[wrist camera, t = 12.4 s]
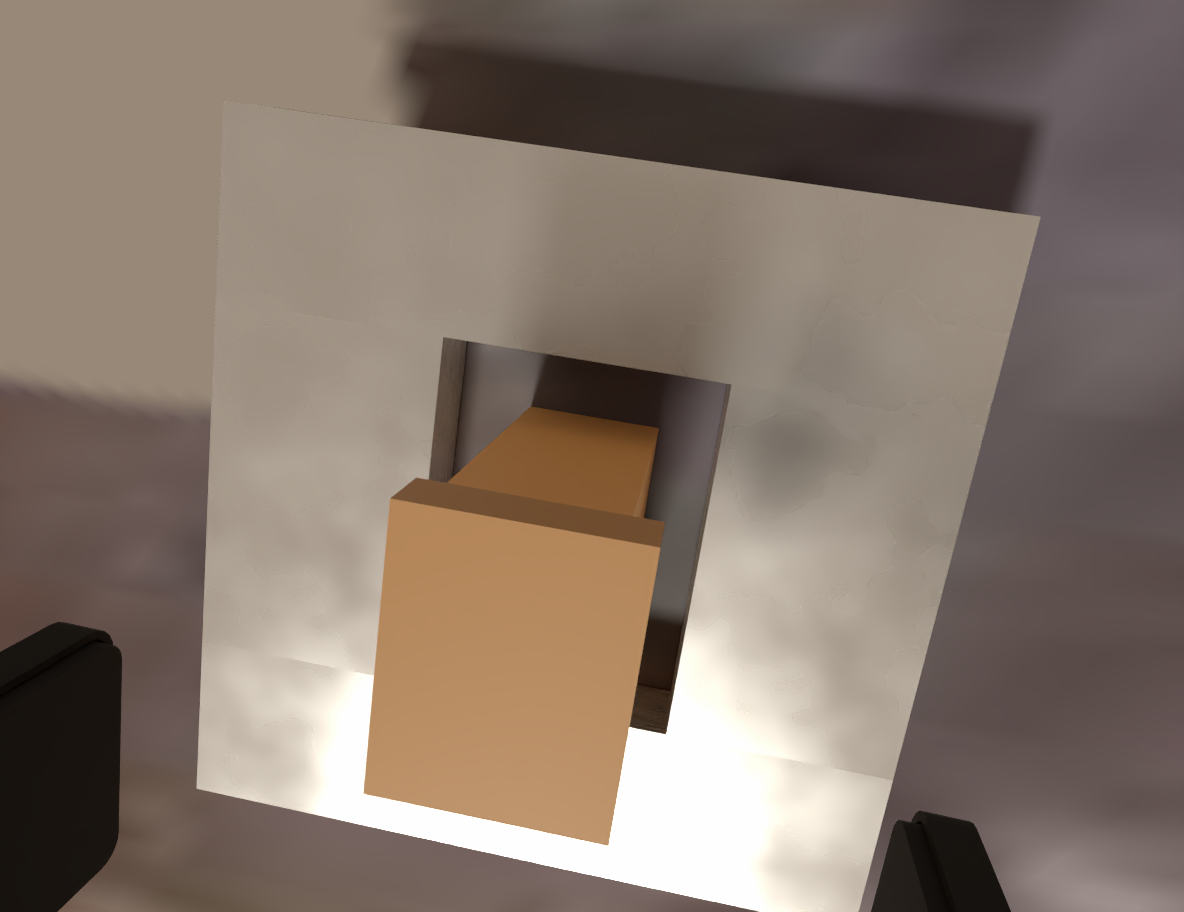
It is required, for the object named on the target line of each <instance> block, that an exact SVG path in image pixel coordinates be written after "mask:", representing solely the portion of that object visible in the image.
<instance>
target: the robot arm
mask: <svg viewBox="0 0 1184 912" xmlns="http://www.w3.org/2000/svg"><path fill="white" fill-rule="evenodd" d="M121 682H122V656H121V652H120V650H119V648H117V647H116V646H113V641H112V639H111V637H110V635H109V634H107V633H106V632H105V631H101V630H97V629H92V628H88V627H83V626H78V625H74V624H69V623H64V622H57V623H54V624H51V625H49V626H47V627H45V628H44V629H42V630H40V631H38V632H36V633H34V634H33V635H31V636H29V637H27V638H25V639H23V640H21V641H20V642H18V643H16V644H14V645H12V646H10V647H9V648H7V649H5V650H3V651H1V652H0V912H57V911H58V910H60V909H61V908H62V907H63V906H64V905H65V904H66V903H67V902H68V901H69V900H70V899H71V898H72V897H73V896H74V895H75V894H76V893H77V892H78V891H79V890H80V889H81V888H82V887H83V886H84V885H85V884H86V883H87V882H88V881H89V880H90V879H91V878H93V877H94V876H95V875H96V874H97V873H98V872H99V871H100V870H101V869H102V868H103V867H104V865H105V864H106V863H107V862H108V860H109V858H110V857H111V855H112V853H113V851H114V849H115V846H116V843H117V840H118V833H119V784H120V733H121ZM871 912H1011V911H1010V908H1009V906H1008V903H1007V901H1006V898H1005V896H1004V894H1003V891H1002V889H1001V886H1000V884H999V882H998V879H997V877H996V874H995V872H994V869H993V867H992V865H991V862H990V860H989V857H988V855H987V853H986V850H985V848H984V845H983V843H982V840H981V838H980V836H979V833H978V831H977V829H976V827H975V825H974V824H973V823H971V822H969V821H965V820H960V819H956V818H951V817H947V816H942V815H938V814H933V813H928V812H924V811H918V812H917V813H916V814H915V816H914V817H913V819H912V822H906V821H902V820H898V821H897V822H896V824H895V825H894V828H893V831H892V834H891V838H890V842H889V846H888V850H887V853H886V857H885V861H884V865H883V869H882V872H881V876H880V880H879V884H878V888H877V891H876V895H875V899H874V903H873V907H872V910H871Z"/></svg>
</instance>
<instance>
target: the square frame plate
mask: <svg viewBox="0 0 1184 912" xmlns="http://www.w3.org/2000/svg"><path fill="white" fill-rule="evenodd" d="M1040 218H1041V217H1038V216H1031V215H1024V214H1017V213H1010V212H1003V211H996V210H989V209H982V208H975V207H968V206H961V205H954V204H947V203H940V202H933V201H926V200H919V199H912V198H905V197H898V196H891V195H884V194H877V193H870V192H863V191H856V190H849V189H842V188H835V187H828V186H821V185H814V184H807V183H800V182H793V181H786V180H778V179H771V178H764V177H757V176H750V175H743V174H736V173H729V172H722V171H715V170H708V169H701V168H694V167H687V166H680V165H673V164H666V163H659V162H652V161H645V160H638V159H631V158H624V157H617V156H610V155H603V154H596V153H589V152H582V151H575V150H568V149H561V148H554V147H547V146H540V145H533V144H526V143H519V142H512V141H505V140H498V139H491V138H484V137H477V136H470V135H463V134H456V133H449V132H442V131H435V130H428V129H421V128H414V127H407V126H400V125H393V124H386V123H379V122H371V121H365V120H358V119H351V118H343V117H337V116H330V115H323V114H316V113H309V112H302V111H294V110H288V109H281V108H274V107H267V106H259V105H253V104H246V103H239V102H232V101H225V100H224V101H223V121H222V146H221V173H220V198H219V224H218V225H219V226H218V253H217V275H216V301H215V329H214V353H213V354H214V355H213V380H212V405H211V431H210V457H209V483H208V509H207V535H206V561H205V587H204V613H203V639H202V665H201V691H200V717H199V743H198V769H197V789H201V790H205V791H210V792H215V793H219V794H224V795H228V796H233V797H237V798H242V799H247V800H251V801H256V802H260V803H265V804H270V805H274V806H279V807H283V808H288V809H293V810H297V811H302V812H306V813H311V814H315V815H320V816H325V817H329V818H334V819H338V820H343V821H348V822H352V823H357V824H361V825H366V826H370V827H375V828H380V829H384V830H389V831H393V832H398V833H403V834H407V835H412V836H416V837H421V838H426V839H430V840H435V841H439V842H444V843H448V844H453V845H458V846H462V847H467V848H471V849H476V850H481V851H485V852H490V853H494V854H499V855H504V856H508V857H513V858H517V859H522V860H526V861H531V862H536V863H540V864H545V865H549V866H554V867H559V868H563V869H568V870H572V871H577V872H582V873H586V874H591V875H595V876H600V877H604V878H609V879H614V880H618V881H623V882H627V883H632V884H637V885H641V886H646V887H650V888H655V889H659V890H664V891H669V892H673V893H678V894H682V895H687V896H692V897H696V898H701V899H705V900H710V901H715V902H719V903H724V904H728V905H733V906H737V907H742V908H747V909H751V910H756V911H760V912H858V911H859V907H860V904H861V900H862V896H863V892H864V888H865V884H866V881H867V877H868V873H869V869H870V865H871V862H872V858H873V854H874V850H875V846H876V843H877V839H878V835H879V831H880V827H881V824H882V820H883V816H884V812H885V808H886V804H887V801H888V797H889V793H890V789H891V785H892V782H893V778H894V774H895V770H896V766H897V763H898V759H899V755H900V751H901V747H902V744H903V740H904V736H905V732H906V728H907V724H908V721H909V717H910V713H911V709H912V705H913V702H914V698H915V694H916V690H917V686H918V683H919V679H920V675H921V671H922V667H923V663H924V660H925V656H926V652H927V648H928V644H929V641H930V637H931V633H932V629H933V625H934V622H935V618H936V614H937V610H938V606H939V603H940V599H941V595H942V591H943V587H944V583H945V580H946V576H947V572H948V568H949V564H950V561H951V557H952V553H953V549H954V545H955V542H956V538H957V534H958V530H959V526H960V523H961V519H962V515H963V511H964V507H965V503H966V500H967V496H968V492H969V488H970V484H971V481H972V477H973V473H974V469H975V465H976V462H977V458H978V454H979V450H980V446H981V442H982V439H983V435H984V431H985V427H986V423H987V420H988V416H989V412H990V408H991V404H992V401H993V397H994V393H995V389H996V385H997V382H998V378H999V374H1000V370H1001V366H1002V362H1003V359H1004V355H1005V351H1006V347H1007V343H1008V340H1009V336H1010V332H1011V328H1012V324H1013V321H1014V317H1015V313H1016V309H1017V305H1018V302H1019V298H1020V294H1021V290H1022V286H1023V282H1024V279H1025V275H1026V271H1027V267H1028V263H1029V260H1030V256H1031V252H1032V248H1033V244H1034V241H1035V237H1036V233H1037V229H1038V225H1039V221H1040ZM467 341H471V342H477V343H483V344H489V345H495V346H501V347H507V348H513V349H519V350H526V351H532V352H538V353H544V354H550V355H556V356H562V357H568V358H574V359H580V360H586V361H592V362H599V363H605V364H611V365H617V366H623V367H629V368H635V369H641V370H647V371H653V372H659V373H665V374H672V375H678V376H684V377H690V378H696V379H702V380H708V381H714V382H720V383H726V384H727V388H726V394H725V399H724V405H723V410H722V415H721V421H720V426H719V431H718V437H717V442H716V448H715V453H714V458H713V464H712V469H711V475H710V480H709V485H708V491H707V496H706V502H705V507H704V512H703V518H702V523H701V529H700V534H699V539H698V545H697V550H696V555H695V561H694V566H693V572H692V577H691V582H690V588H689V593H688V599H687V604H686V609H685V615H684V620H683V626H682V631H681V636H680V642H679V647H678V653H677V658H676V663H675V669H674V674H673V679H672V685H671V690H670V691H667V690H662V689H656V688H651V687H646V686H641V685H637V686H636V692H635V698H634V704H633V710H632V715H631V721H630V727H629V733H628V738H627V744H626V750H625V756H624V762H623V767H622V773H621V779H620V785H619V790H618V796H617V802H616V808H615V813H614V819H613V825H612V831H611V836H610V842H609V847H608V846H604V845H599V844H594V843H590V842H585V841H580V840H576V839H571V838H566V837H562V836H557V835H552V834H548V833H543V832H538V831H534V830H529V829H524V828H520V827H515V826H510V825H506V824H501V823H496V822H492V821H487V820H482V819H478V818H473V817H468V816H464V815H459V814H454V813H450V812H445V811H440V810H436V809H431V808H426V807H422V806H417V805H412V804H408V803H403V802H398V801H394V800H389V799H384V798H380V797H375V796H370V795H366V794H363V790H364V779H365V768H366V757H367V746H368V735H369V724H370V713H371V702H372V691H373V680H374V669H375V658H376V647H377V636H378V625H379V614H380V603H381V592H382V581H383V570H384V559H385V548H386V537H387V526H388V515H389V504H390V498H391V497H392V496H394V495H395V494H396V493H398V492H399V491H400V490H401V489H403V488H404V487H405V486H406V485H408V484H409V483H410V482H411V481H413V480H414V479H415V478H422V479H427V480H433V481H438V482H444V483H447V482H448V481H449V480H451V479H452V475H453V465H454V456H455V447H456V438H457V429H458V420H459V411H460V402H461V393H462V384H463V374H464V365H465V356H466V347H467Z"/></svg>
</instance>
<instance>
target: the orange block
mask: <svg viewBox="0 0 1184 912" xmlns="http://www.w3.org/2000/svg"><path fill="white" fill-rule="evenodd" d="M658 432H659V428H655V427H649V426H644V425H638V424H632V423H626V422H620V421H614V420H608V419H602V418H596V417H590V416H584V415H579V414H573V413H567V412H561V411H555V410H549V409H543V408H537V407H530V408H529V409H528V410H527V411H526V412H525V413H523V414H522V415H521V416H520V417H519V418H518V419H517V420H516V421H515V422H513V423H512V424H511V425H510V426H509V427H508V428H507V429H506V430H505V431H504V432H502V433H501V434H500V435H499V436H498V437H497V438H496V439H495V440H494V441H493V442H491V443H490V444H489V445H488V446H487V447H486V448H485V449H484V450H483V451H481V452H480V453H479V454H478V455H477V456H476V457H475V458H474V459H473V460H472V461H470V462H469V463H468V464H467V465H466V466H465V467H464V468H463V469H462V470H460V471H459V472H458V473H457V474H456V475H455V476H454V477H453V478H452V479H451V480H449V481H448V482H447V483H444V482H438V481H433V480H427V479H422V478H415V479H414V480H413V481H411V482H410V483H409V484H408V485H406V486H405V487H404V488H403V489H401V490H400V491H399V492H398V493H396V494H395V495H394V496H392V497H391V498H390V504H389V515H388V526H387V537H386V548H385V559H384V570H383V581H382V592H381V603H380V614H379V625H378V636H377V647H376V658H375V669H374V680H373V691H372V702H371V713H370V724H369V735H368V746H367V757H366V768H365V779H364V790H363V794H366V795H370V796H375V797H380V798H384V799H389V800H394V801H398V802H403V803H408V804H412V805H417V806H422V807H426V808H431V809H436V810H440V811H445V812H450V813H454V814H459V815H464V816H468V817H473V818H478V819H482V820H487V821H492V822H496V823H501V824H506V825H510V826H515V827H520V828H524V829H529V830H534V831H538V832H543V833H548V834H552V835H557V836H562V837H566V838H571V839H576V840H580V841H585V842H590V843H594V844H599V845H604V846H608V847H609V842H610V836H611V831H612V825H613V819H614V813H615V808H616V802H617V796H618V790H619V785H620V779H621V773H622V767H623V762H624V756H625V750H626V744H627V738H628V733H629V727H630V721H631V715H632V710H633V704H634V698H635V692H636V686H637V681H638V675H639V669H640V663H641V658H642V652H643V646H644V640H645V634H646V629H647V623H648V617H649V611H650V606H651V600H652V594H653V588H654V582H655V577H656V571H657V565H658V559H659V554H660V548H661V542H662V536H663V531H664V525H665V522H662V521H657V520H651V519H645V518H644V516H645V510H646V504H647V498H648V492H649V486H650V480H651V474H652V468H653V462H654V456H655V450H656V444H657V438H658Z"/></svg>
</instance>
